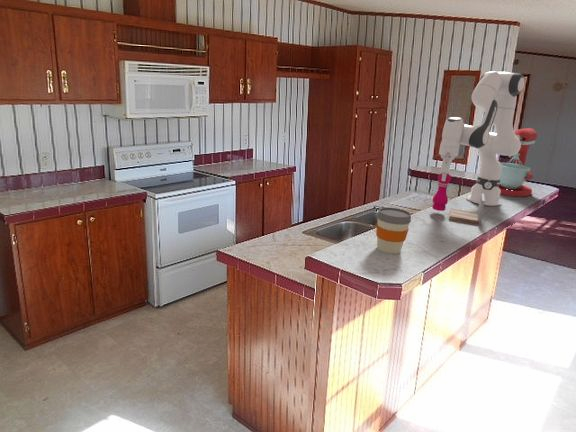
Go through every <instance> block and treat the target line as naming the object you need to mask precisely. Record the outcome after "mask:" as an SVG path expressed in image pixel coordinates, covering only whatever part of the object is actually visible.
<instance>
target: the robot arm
mask: <svg viewBox="0 0 576 432" xmlns="http://www.w3.org/2000/svg"><path fill="white" fill-rule="evenodd" d="M478 81H479V82H478V83H477V85H476V86H475V87H474V89H473V91H472V94H471V101H472V104H473V105H474V106H475V107H476V108H477V109H479V111H482V112H484V114H483V117H482V120H481V123H480V125H469V124H466V123H464V119H463V118H462V117H460V116H459V117H458V116H450V117H448V118H447V119H446V120H445V122H444V125H443V129H442V134H441V137H442V139H441V142H440V146H439V150H438V155H440V158H441V159H442V163H441V168H440V174H441V173H442V181H445V180H446V176H447V174H449V173H450V169H451V165H452V163H453V160H455V159H456V157H458V156H459V151H460V146H461V145H463V146H468V147H470V148H471V147H472V148H475V150H476V151H477V153H478V155H479V159H480V166H479V172H478V175H477V177H476V182H475V184H473V186H472V187H471V188H470V193H469V195H468V196H467V197H466V198H465V199H466V201H469V202H472V203H475V204H478V205H479V202H480V198H481V193H482V194H484V198H485V203H484V206H489V207H490V206H502V205H503V203H502V202H501V201H500V196H501V194H500V192H501V190H500V189H499V187H498V186H499V184H500V175H501V171H502V165H501V163H502V162H500V161H499V160H498V159H497V155H500V156H505V157H509V156H510V157H511V156H512V157H513V156H514V155H516V154H517V153H518V152H519V150H520V148H521V142H520V140H519V139H518V137H517V136H516V135H515V130H514V124H513V123H514V116H515V112H516V111H515V109H516V106H517V95H519V94H520V93H521V92H522V91H524V87H525V84H526V80H525V76H524V75H523V74H521V73H519V72H511V71H510V72H509V71H494V70H493V71H492V70H491V71H486V72H484V73H483V74H482V75H481V76H480V77H479V80H478ZM492 126H493V127H495V129H496V132H492V131H491V130H492Z"/></svg>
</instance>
